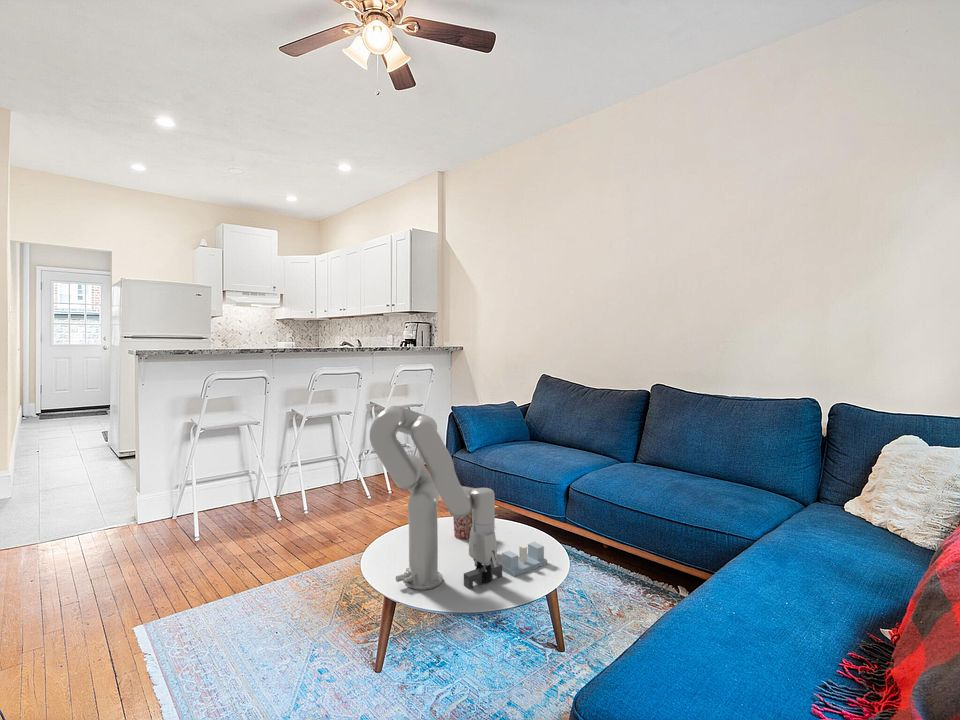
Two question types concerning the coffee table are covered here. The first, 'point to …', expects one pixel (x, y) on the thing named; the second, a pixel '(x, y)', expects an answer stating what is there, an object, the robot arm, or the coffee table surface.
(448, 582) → the coffee table surface
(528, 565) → the display stand
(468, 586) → the dark grey bar
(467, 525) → the mug
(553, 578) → the coffee table surface
